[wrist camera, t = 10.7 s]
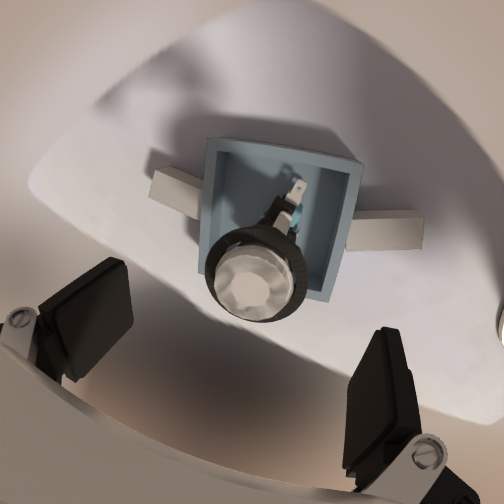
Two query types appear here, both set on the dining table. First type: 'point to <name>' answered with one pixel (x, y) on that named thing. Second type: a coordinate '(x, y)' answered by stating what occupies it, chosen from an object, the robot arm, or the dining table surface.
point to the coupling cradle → (279, 183)
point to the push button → (261, 264)
